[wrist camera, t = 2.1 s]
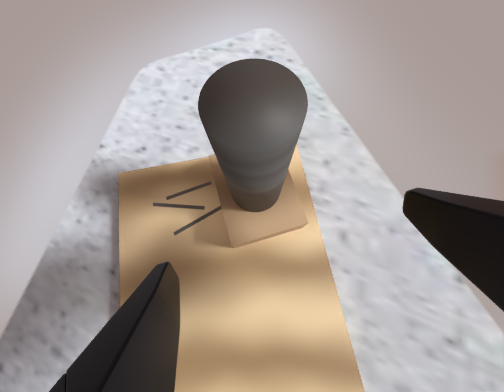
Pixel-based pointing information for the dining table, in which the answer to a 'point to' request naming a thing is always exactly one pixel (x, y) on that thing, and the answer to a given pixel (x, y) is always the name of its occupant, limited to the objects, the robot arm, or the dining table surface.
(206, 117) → the rubber stamp
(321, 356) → the pine board
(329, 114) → the dining table surface
